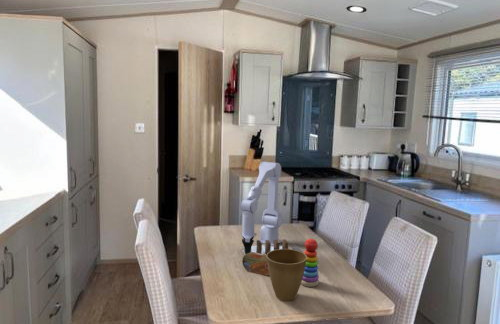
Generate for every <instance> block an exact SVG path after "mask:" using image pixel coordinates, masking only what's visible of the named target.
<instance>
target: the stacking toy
mask: <svg viewBox="0 0 500 324" xmlns="http://www.w3.org/2000/svg"><path fill="white" fill-rule="evenodd" d="M304 247H305V250H304V252H303V253H304V254H305V255H306V256H307V260H306V266H305V270H304V275H303V278H302V282H301V285H302V286H305V287H309V288H312V287H316V286H318V285H319V282H320V280H319V278H320V277H319V276H320V275H319V266H318V264H319V263H318V256H317V255H318V252H317V249H318V242H317V240H315V239H314V238H308V239H306V241H305V242H304Z"/></svg>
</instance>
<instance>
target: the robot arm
mask: <svg viewBox="0 0 500 324" xmlns="http://www.w3.org/2000/svg"><path fill="white" fill-rule="evenodd" d="M258 172H259V174H258V176H257V178H256V181H255V184H254V185H253V186H251V187H250V190H249V191H248V193H247V195H246V197H245V199H243V200H241V203H240V205H239V207H240V211H241V215H242V225H241V226H242V228H241V229H242V230H241V231H242V232H241V236H242V238H241V243H242V244H243V249H245V254H247V253H250V251H251V252H252V246H253V244H254V242H255V240H254V238H255V236H257V232H255V223H256V222H255V221H256V220H255V219H256V218H255V215H256V212H257V209H258V204H259V199H260V197H261V195H262V193H263V190H262V188H263V186H264V185H265V183H266V182H267V180H268V189H267V190H268V191H267V192H268V193H267V195H268V196H267V208H265V210H263V211H262V212H263V213H262V217H261V223H262V225H261V227H260V231H259V233H260V236H259V240H260V241H261V243H262V244H265V240H269V241H270V243H271V246H273V247H274V240H278V242H279V243H281V244H282V240H279V231H280V229H279V228H280V227H281V226H282V224H283V222H284V221H283V219H284V218H283V212H282V211H281V210H280V209H279V208H278V203H279V202H278V197H279V179H280V178H281V176H282V166H281V163H279V162H271V161H269V162H268V161H263V160H262V161H261V162H260V163H259V166H258ZM245 254H244V255H245Z"/></svg>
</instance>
